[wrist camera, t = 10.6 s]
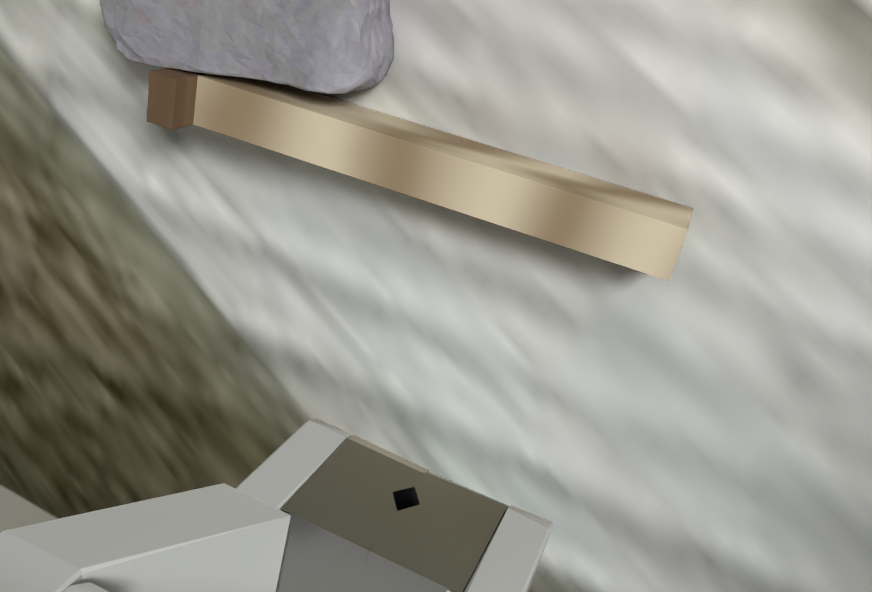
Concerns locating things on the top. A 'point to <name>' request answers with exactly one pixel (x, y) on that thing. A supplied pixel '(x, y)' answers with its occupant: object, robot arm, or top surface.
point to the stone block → (260, 39)
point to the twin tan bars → (429, 166)
